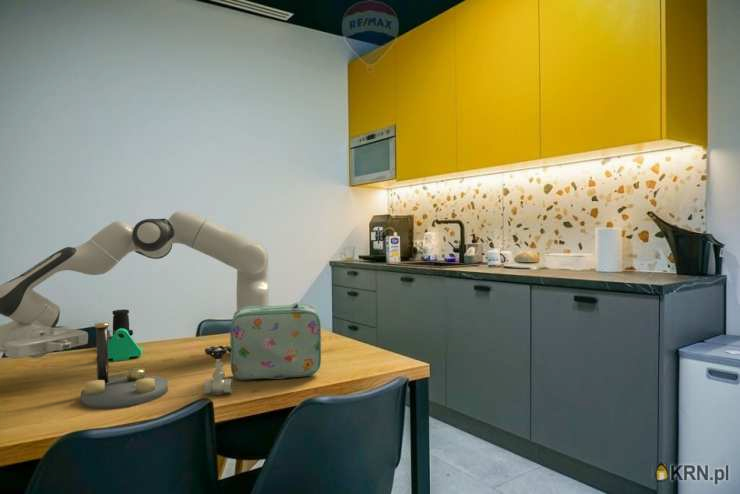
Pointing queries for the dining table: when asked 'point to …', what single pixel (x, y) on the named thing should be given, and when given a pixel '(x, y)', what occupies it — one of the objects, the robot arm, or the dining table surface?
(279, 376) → the lunch box
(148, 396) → the plate
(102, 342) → the lever
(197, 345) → the dining table surface
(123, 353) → the camera mount
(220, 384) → the valve
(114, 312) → the scope
